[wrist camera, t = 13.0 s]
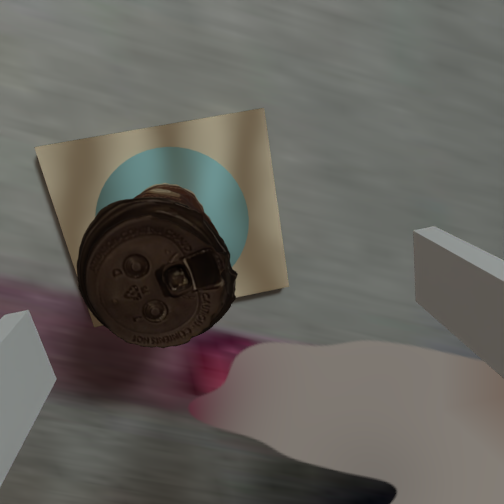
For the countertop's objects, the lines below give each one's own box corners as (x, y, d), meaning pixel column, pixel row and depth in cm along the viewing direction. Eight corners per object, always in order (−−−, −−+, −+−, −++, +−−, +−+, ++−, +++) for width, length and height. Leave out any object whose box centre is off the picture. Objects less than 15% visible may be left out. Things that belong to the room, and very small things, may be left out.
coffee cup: (239, 194, 33) (269, 242, 21) (203, 285, 35) (210, 378, 23) (130, 152, 31) (92, 179, 18) (99, 252, 33) (45, 336, 20)
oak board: (261, 108, 32) (264, 108, 31) (286, 281, 37) (289, 287, 36) (39, 146, 31) (33, 147, 29) (97, 320, 36) (93, 328, 35)
